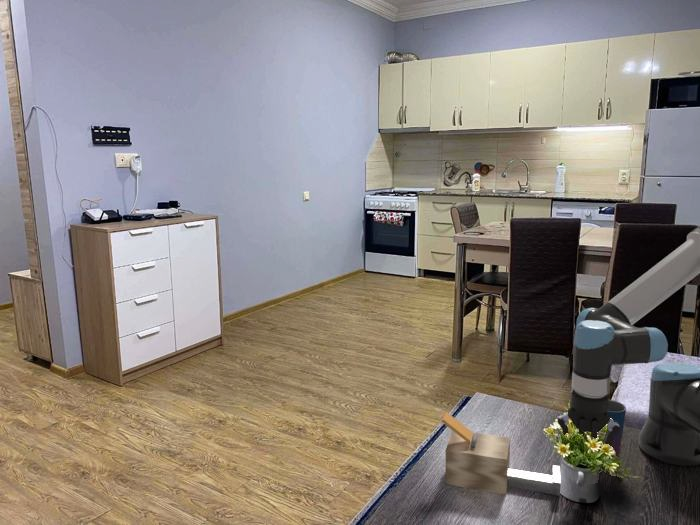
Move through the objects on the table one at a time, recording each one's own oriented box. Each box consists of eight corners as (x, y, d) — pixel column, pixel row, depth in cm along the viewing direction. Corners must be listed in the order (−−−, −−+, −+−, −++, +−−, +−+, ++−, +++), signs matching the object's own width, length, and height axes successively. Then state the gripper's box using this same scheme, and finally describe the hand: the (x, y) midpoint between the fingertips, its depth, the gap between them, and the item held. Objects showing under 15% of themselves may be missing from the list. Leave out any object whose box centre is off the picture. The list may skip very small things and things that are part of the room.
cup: (598, 450, 139) (601, 397, 136) (626, 459, 134) (630, 405, 131) (588, 460, 134) (591, 406, 131) (616, 471, 129) (620, 414, 126)
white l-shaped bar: (559, 483, 126) (559, 466, 125) (559, 501, 119) (560, 483, 118) (483, 470, 132) (483, 454, 131) (480, 487, 125) (480, 470, 125)
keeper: (475, 438, 130) (478, 435, 129) (473, 448, 125) (476, 445, 125) (444, 413, 131) (446, 410, 131) (440, 422, 127) (443, 419, 127)
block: (509, 470, 131) (510, 437, 129) (506, 495, 122) (506, 459, 120) (452, 461, 136) (452, 429, 134) (445, 484, 127) (445, 449, 125)
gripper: (621, 387, 117) (613, 483, 121) (557, 380, 121) (552, 473, 126) (625, 402, 110) (617, 503, 114) (558, 394, 114) (553, 491, 119)
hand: (583, 487), depth 120 cm, fingers closed
